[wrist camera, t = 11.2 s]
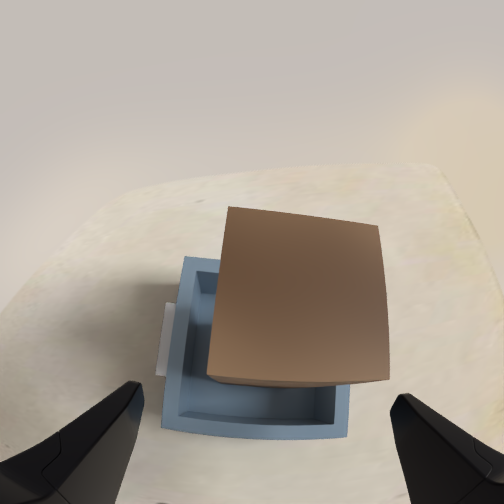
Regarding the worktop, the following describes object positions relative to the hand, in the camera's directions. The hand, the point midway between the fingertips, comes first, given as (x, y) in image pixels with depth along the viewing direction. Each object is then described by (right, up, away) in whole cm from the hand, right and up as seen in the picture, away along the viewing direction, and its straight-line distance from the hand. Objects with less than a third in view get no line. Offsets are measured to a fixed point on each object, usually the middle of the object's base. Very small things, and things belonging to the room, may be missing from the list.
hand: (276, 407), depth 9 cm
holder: (-1, -2, +10) cm, 10 cm away
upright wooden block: (-1, -2, +9) cm, 10 cm away
